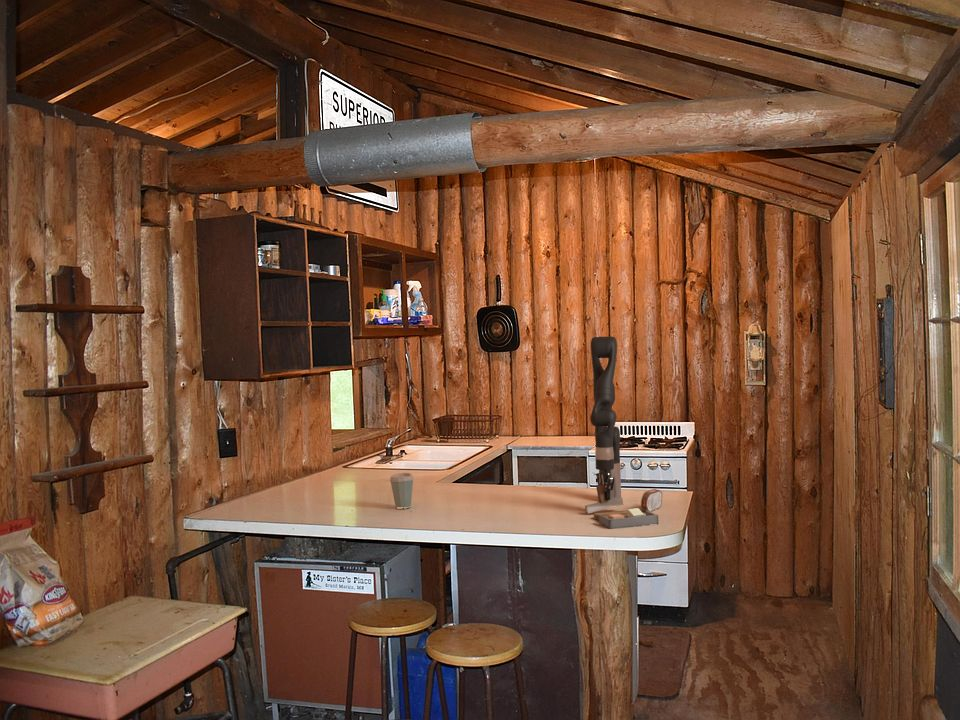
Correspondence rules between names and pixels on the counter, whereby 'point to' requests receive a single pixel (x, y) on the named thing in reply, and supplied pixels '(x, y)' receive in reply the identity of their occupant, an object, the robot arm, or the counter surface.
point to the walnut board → (597, 515)
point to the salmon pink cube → (615, 516)
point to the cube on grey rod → (603, 501)
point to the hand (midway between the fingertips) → (605, 499)
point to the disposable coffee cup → (402, 489)
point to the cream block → (634, 512)
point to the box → (629, 521)
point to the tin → (651, 500)
